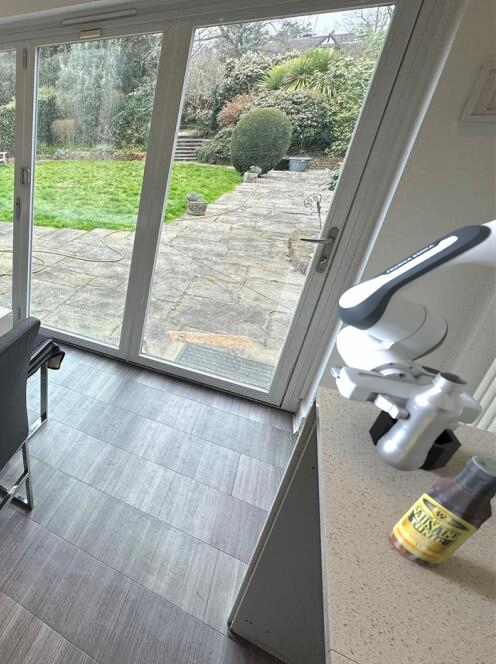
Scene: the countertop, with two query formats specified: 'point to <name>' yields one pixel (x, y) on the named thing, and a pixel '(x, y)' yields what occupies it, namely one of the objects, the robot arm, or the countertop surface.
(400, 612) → the countertop surface
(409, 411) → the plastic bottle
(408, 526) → the sauce bottle
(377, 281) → the robot arm
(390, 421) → the bowl
